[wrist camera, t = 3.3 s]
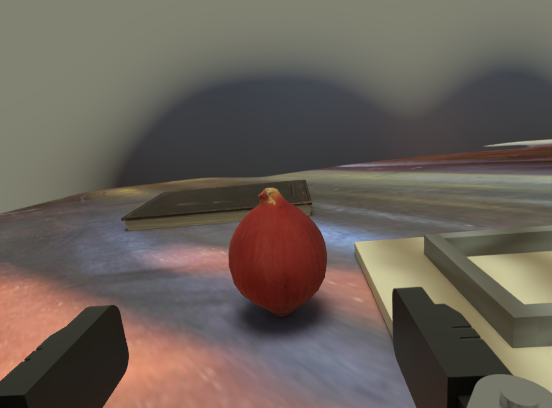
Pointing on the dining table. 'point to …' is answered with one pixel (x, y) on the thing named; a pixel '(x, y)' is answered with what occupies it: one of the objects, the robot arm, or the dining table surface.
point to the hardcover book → (212, 205)
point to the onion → (277, 255)
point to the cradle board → (477, 287)
